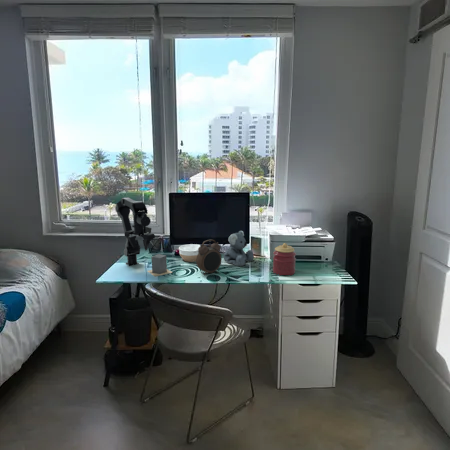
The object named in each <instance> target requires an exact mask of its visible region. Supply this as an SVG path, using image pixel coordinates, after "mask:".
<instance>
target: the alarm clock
mask: <svg viewBox="0 0 450 450" xmlns="http://www.w3.org/2000/svg"><path fill="white" fill-rule="evenodd" d="M210 241H211V242H213V243H212V244H208V245H206V244H205V243H207V242H210ZM199 245H200V247H199V248H198V252H199V253H198V255H197V258H196V261H195V263H196V266H197V268H198V269H199V270H201V272H200V273H201V274H202V273H203V272H204V274H203V276H206V274H207V273H208V274H212V273H218V270H219V268H220V266H221V265H222V254H221V253H220V251H221V245H220V244H219V242H218V241H217V242H216V240H215V239H207V240H204V241H203V242H202V244H199Z"/></svg>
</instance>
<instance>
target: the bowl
mask: <svg viewBox="0 0 450 450" xmlns="http://www.w3.org/2000/svg"><path fill="white" fill-rule="evenodd" d="M200 245H201V244H197V243H196V244H195V243H194V244H193V243H190V244H182V245H180V246H179V247H178V250H179V256H180V257H181V258H182V259H183V261H185V262H189V263H190V262H191V263H193V262H196V258H197V255H198V253H199V252H198V248H199V247H200Z"/></svg>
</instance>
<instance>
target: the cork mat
mask: <svg viewBox="0 0 450 450" xmlns="http://www.w3.org/2000/svg"><path fill="white" fill-rule="evenodd" d="M146 271H147V273H149V274H151V275H152V276H153V277H155V278H156V277H160V276H163V275H168V274H172V273H173V271H171V270H169V269H168V268H167V271H166V272H164V273H162V274H157V273H153V272H152V269H149V270H146Z"/></svg>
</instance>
